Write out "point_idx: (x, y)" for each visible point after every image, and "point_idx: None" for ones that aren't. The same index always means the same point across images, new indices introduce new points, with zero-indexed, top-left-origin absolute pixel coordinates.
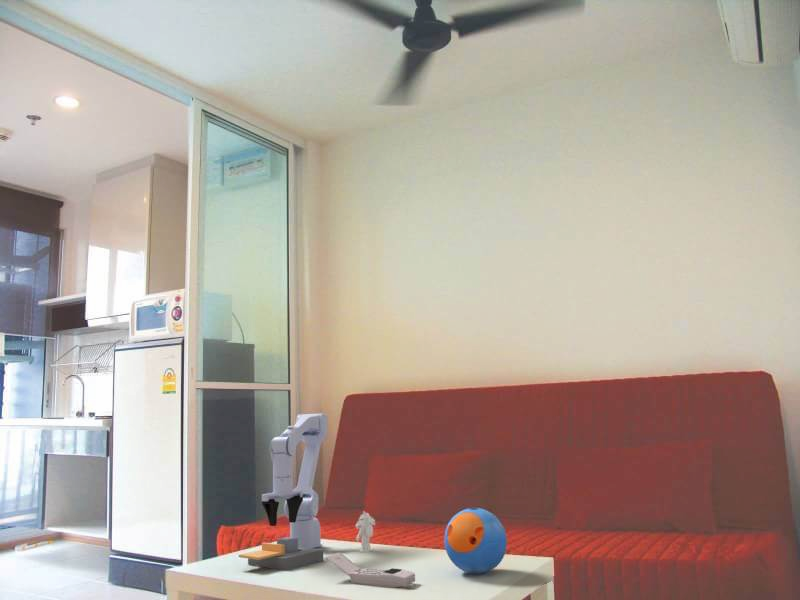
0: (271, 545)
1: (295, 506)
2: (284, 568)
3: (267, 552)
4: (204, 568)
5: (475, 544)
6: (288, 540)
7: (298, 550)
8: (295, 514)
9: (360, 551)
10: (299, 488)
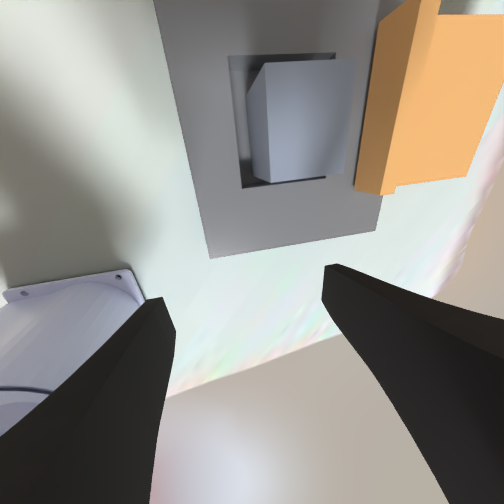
0: (407, 114)
1: (79, 450)
2: None
3: (416, 103)
4: (412, 265)
5: None
6: (345, 61)
7: (233, 113)
8: (130, 338)
9: None
10: None
